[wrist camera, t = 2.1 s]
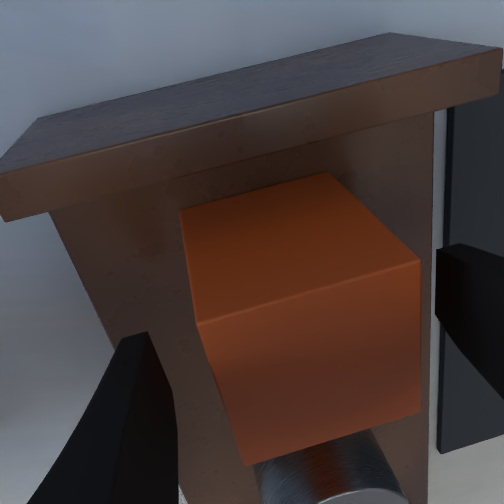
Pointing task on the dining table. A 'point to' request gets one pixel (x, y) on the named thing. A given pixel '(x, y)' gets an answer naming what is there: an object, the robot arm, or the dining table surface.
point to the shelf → (238, 182)
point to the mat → (479, 236)
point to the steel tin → (331, 474)
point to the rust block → (304, 314)
